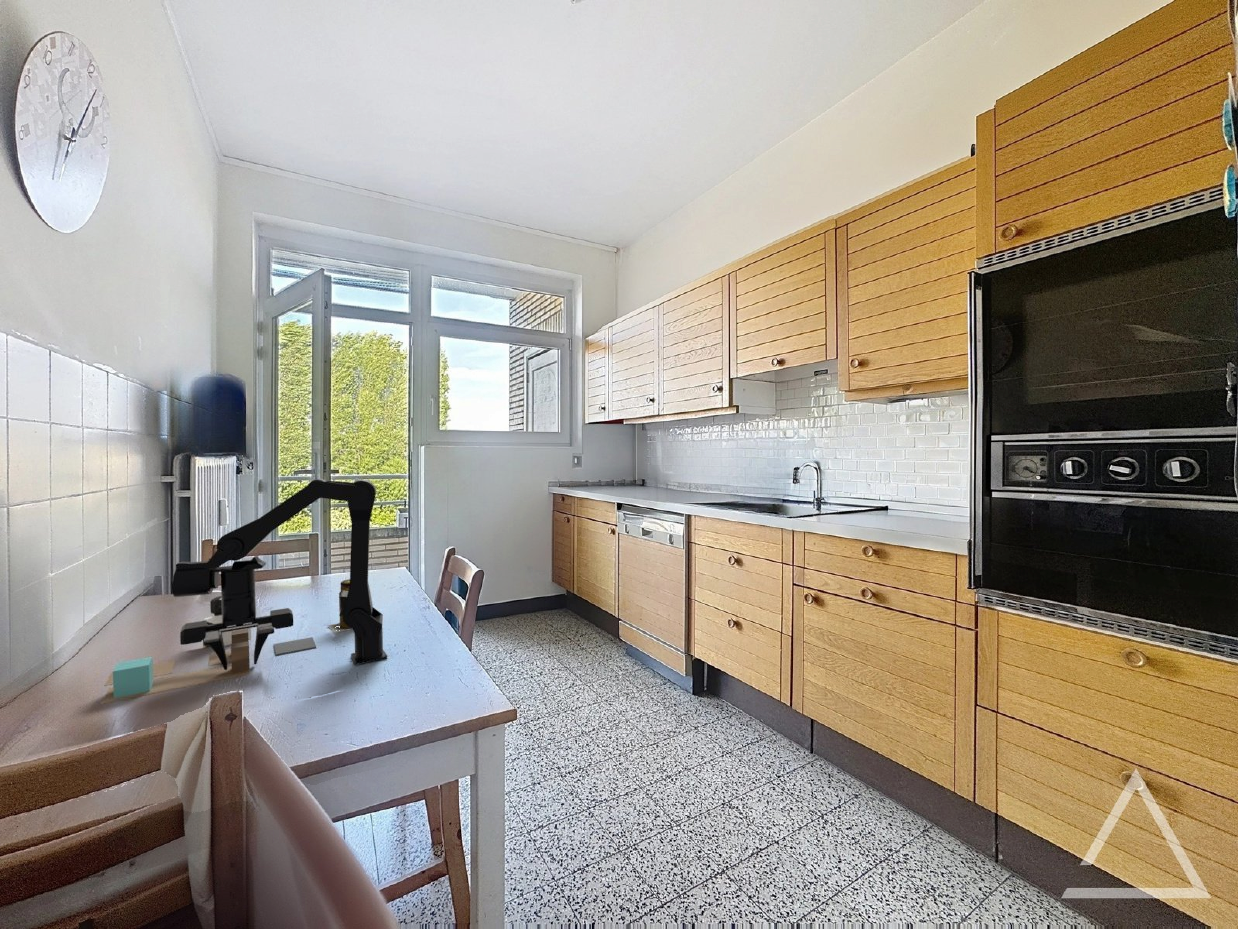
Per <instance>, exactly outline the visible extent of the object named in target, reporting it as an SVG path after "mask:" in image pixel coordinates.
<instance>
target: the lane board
mask: <svg viewBox="0 0 1238 929" xmlns="http://www.w3.org/2000/svg"><path fill="white" fill-rule="evenodd" d="M175 662H176V660H172V661H166V662H160V663H156V664H155V663H153V678H154V677H158V676H159V677H160V676H164V675H169V674H172V673H173V669H174V666H175ZM107 686H113V671H111V674H110V675H109V677H108V679H107V681H106V682H105V684H104V687H107Z"/></svg>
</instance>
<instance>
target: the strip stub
mask: <svg viewBox="0 0 1238 929" xmlns="http://www.w3.org/2000/svg"><path fill="white" fill-rule="evenodd" d="M231 637H232V644H237V643H242V642H248V641H249V640H248V629H243V630H237V631H232V634H231ZM225 653H226V658H227V664H228V663H231V650H227V651H226V650H225ZM208 660H209V662H208V667H210V666H211V667H212V666H216V665H222V664H221V662H220V660H219V658H218V656H217V654H216V653H215V652H214V653H211V654H210V655H209V659H208Z"/></svg>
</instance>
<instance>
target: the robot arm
mask: <svg viewBox="0 0 1238 929" xmlns="http://www.w3.org/2000/svg"><path fill="white" fill-rule="evenodd" d="M376 494H377V488H376V486H375V484H374V483H373V482H371V481H370V480H367V479H363V478H362V479H357V480H355V481H354V482H349V481H338V480H337V481H336V480H325V479H323V478H316V479H313V480H311V481H310V482H309V483H308V484H307V485H306V486H304V487H303V488H302V489H300V490H299V491H297V492H296V493H294V494H293V495H291V496H290V497H288V498H287V499H285V500H284V501H282V502H281V503H280V504H278V505H276V506H275V507H274V508H272V509H270V510H269V511H267V512H266V513H265V514H264V515H262V516H260V517H259V518H257V519H255V520H253V521H250V522H248V523H246V524H244V525H242V526H240V527H237V528H236V529H234V530H233V529H232V530H231V531H230V532H227V533H226V534H224V535H222V536H221V537H220V538H219V539H218V541H217V543H216V551H215V553H213V555H212V556H211V557H210V558H208V560H204V561H180V562H177V563H176V564H175V571H174V574H173V578H172V582H171V584H170V585H171V587H170V588H171V592H172V595H173V597H174V598H181V597H182V598H183V597H193V596H202V595H211V594H212V593H213V590H215V589H218V588H219V586H220V594H221V595H220V596H221V600H214V616H220V615H222V623H218V624H212V625H207V620H206V621H201V620H199V621H193V622H187V623H184V625H182V626H181V628H180V633H179V634H180V635H179V636H180V637H179V639H180V643H179V644H180V645H183V646H184V645H185V646H186V645H190V644H196V643H201V642H202V646H203V645H210V646H211V649H212V651H214V654H215V653H216V654H217V656H218V658H219V660H220V662H221V664H220V665H222V666H223V667H224V669H225V670H227V665H228V663H227V658H226V653H225V652H226V649H225V648H226V647H225V646H224V642H223V636H222V632H228V631H234V630H240V629H246V628H251V629H252V628H256V634H255V643H254V650H253V651H254V652H253V665H257V664H258V660H259V657H260V654H261V652H262V650H263V647H264V645H265V643H266V641H267V639H268V637H269V635H272V634H274V633H275V629H276V630H279V629H284V628H291V627H293V626H294V613H293V611H292V609H291V608H289V607H286V608H279V609H272V610H270V611H269V615H264V616H258V617H257V605H256V604H257V603H256V600H257V599H256V578H255V576H256V575H255V574H256V573H255V571H256V570H259V569H260V570H261V569H263V568H264V567H265V566H266V564H267V562H266V561H263V560H262V559H260V558H259V556H258V555H255V556H254V557H252V558H251V559H250V560H249V559H248V560H247V559H246V560H242V559H244V558H245V557H247V556H248V555H249V554H250V553H252V552H253V551H254V550H255V549H256V548H257V547H258V546H259V545H260V544H261V543H262V542H263V541H264V540H265V539H266V538H267V537H268V536H269V535H270V534H272V532H274V531H275V529H277V528H278V527H280V526H282V525H283V524H284V523H286V522H287V521H289V520H290V519H291V518H293V517H295V516H296V515H297V514H299V513H300V512H302V511H303V510H304V509H306V508H308V507H309V506H310V505H312V504H313V503H315V502H316V501H317V500H319V499H327V500H333V501H342V502H347V507H348V511H349V516H350V522H351V531H350V532H351V534H350V537H351V538H350V564H349V566H350V568H349V569H350V570H349V579H350V586H349V590H348V591H344V590H343V591H342V593H341V596H340V601H341V611H340V612H339V615H338V616H339V617H340V616H341V615H343V622H344V624H346V625H347V626H348V627H350V628H352V629H351V630H352V631H353V636H354V652H353V653H351V654H350V657H351V659H352V660H353V663H354V664H355V665H361V664H366V663H370V662H374V661H378V660H379V661H380V660H385V659H387V658H388V654H387V653H386V651H385V650H384V643H383V642H384V640H383V639H384V638H383V637H384V636H383V635H384V634H383V633H384V632H383V622H384V621H383V616H384V614H383V613H382V612H380V611H379V610H377V609H376V608H375V607H374V605H373V600H372V594H371V589H370V588H371V587H370V585H369V562H370V561H369V559H370V558H369V557H370V530H371V529H370V527H371V523H370V522H371V518H372V513H373V509H374V505H375V504H374V503H375V500H376ZM229 561H231V562H232V561H234V562H233V563H232V565H225V566H223V565H224V564H226V563H227V562H229ZM246 623H250V624H246ZM243 624H245V625H243ZM234 625H236V626H234ZM227 626H231V627H227ZM203 639H204V640H203ZM222 666H221V667H222Z"/></svg>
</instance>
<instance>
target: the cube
mask: <svg viewBox="0 0 1238 929" xmlns="http://www.w3.org/2000/svg"><path fill="white" fill-rule="evenodd" d="M153 665H154V663H153V656H150V657H149V656H148V657H143V658H138V659H133V660H132V659H131V660H127V661H121V662H117V663H116V665H115V667H114V669H113V670H112V672H113V685H112V688H113V691H114V699H115V698H120V697H124V696H129V695H134V694H139V693H144V692H149V691H150V690H151V687H152V684H153V680H154V677H153Z"/></svg>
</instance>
